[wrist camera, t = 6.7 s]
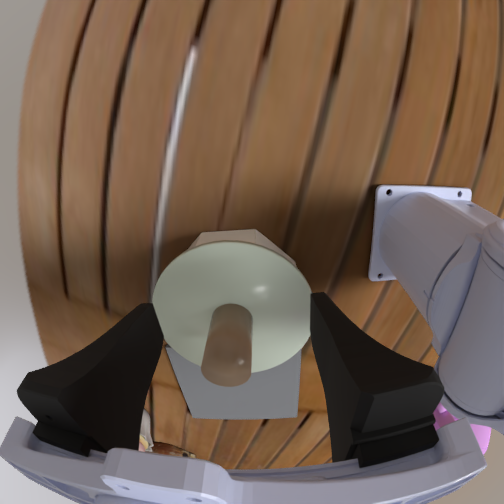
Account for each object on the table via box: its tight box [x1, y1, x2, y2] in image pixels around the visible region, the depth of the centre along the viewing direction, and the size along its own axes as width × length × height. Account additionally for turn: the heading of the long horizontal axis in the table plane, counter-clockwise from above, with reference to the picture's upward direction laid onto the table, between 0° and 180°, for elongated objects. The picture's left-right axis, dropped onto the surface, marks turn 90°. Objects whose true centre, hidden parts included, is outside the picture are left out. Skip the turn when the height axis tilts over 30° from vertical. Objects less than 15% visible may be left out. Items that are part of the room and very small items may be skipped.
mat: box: [166, 345, 301, 419], centre depth 29 cm, size 13×13×1 cm
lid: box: [152, 240, 312, 387], centre depth 19 cm, size 12×12×6 cm
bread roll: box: [145, 442, 196, 458], centre depth 37 cm, size 10×10×8 cm
